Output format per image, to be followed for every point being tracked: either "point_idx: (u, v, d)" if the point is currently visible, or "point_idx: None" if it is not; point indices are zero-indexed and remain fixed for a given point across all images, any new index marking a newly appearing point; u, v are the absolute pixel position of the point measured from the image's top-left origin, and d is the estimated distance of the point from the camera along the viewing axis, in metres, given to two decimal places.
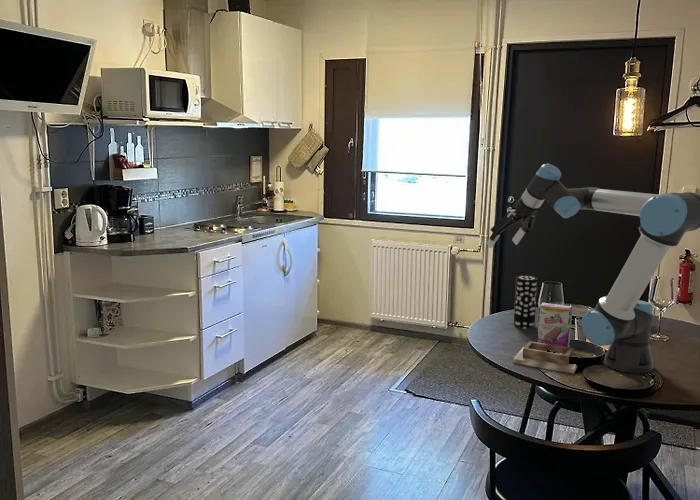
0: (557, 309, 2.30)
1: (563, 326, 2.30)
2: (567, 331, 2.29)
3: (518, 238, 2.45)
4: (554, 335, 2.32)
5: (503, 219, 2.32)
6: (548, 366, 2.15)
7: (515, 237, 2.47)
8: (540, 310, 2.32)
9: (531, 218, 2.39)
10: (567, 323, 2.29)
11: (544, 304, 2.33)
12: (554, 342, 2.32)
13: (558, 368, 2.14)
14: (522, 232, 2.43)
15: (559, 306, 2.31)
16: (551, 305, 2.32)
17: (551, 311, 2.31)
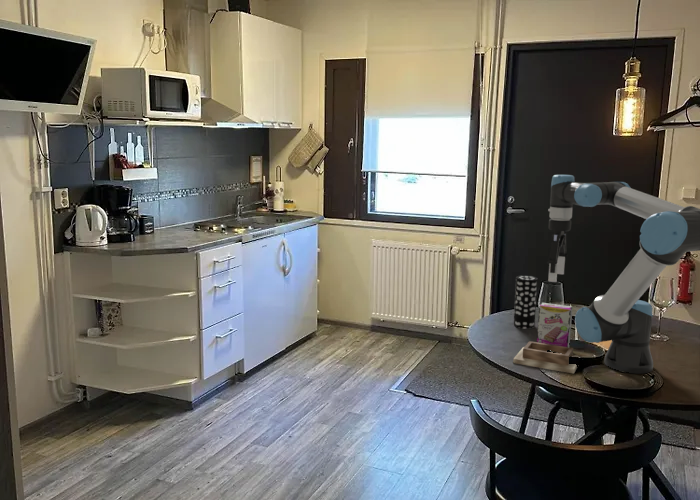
0: (557, 309, 2.30)
1: (563, 326, 2.30)
2: (567, 331, 2.29)
3: (562, 266, 2.35)
4: (554, 335, 2.32)
5: (553, 245, 2.21)
6: (548, 366, 2.15)
7: (558, 268, 2.36)
8: (540, 310, 2.32)
9: None
10: (567, 323, 2.29)
11: (544, 304, 2.33)
12: (554, 342, 2.32)
13: (558, 368, 2.14)
14: (562, 258, 2.35)
15: (559, 306, 2.31)
16: (551, 305, 2.32)
17: (551, 311, 2.31)
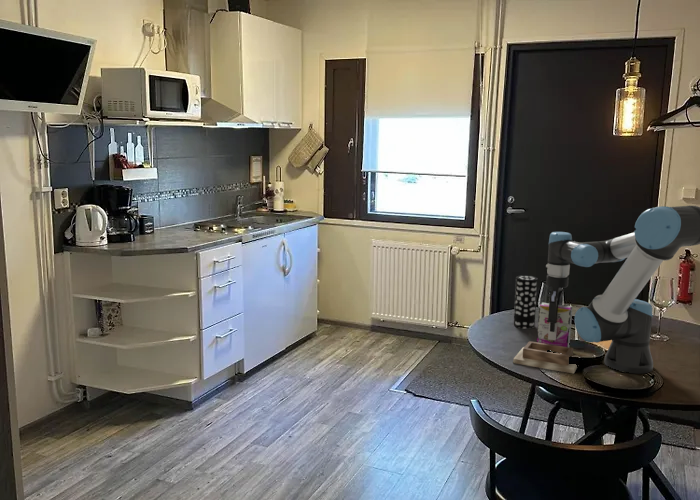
0: None
1: (563, 326, 2.30)
2: (567, 331, 2.29)
3: None
4: None
5: (551, 306, 2.27)
6: (548, 366, 2.15)
7: None
8: (540, 310, 2.32)
9: None
10: (567, 322, 2.29)
11: (544, 304, 2.33)
12: (554, 342, 2.32)
13: (558, 368, 2.14)
14: None
15: (559, 306, 2.31)
16: None
17: None
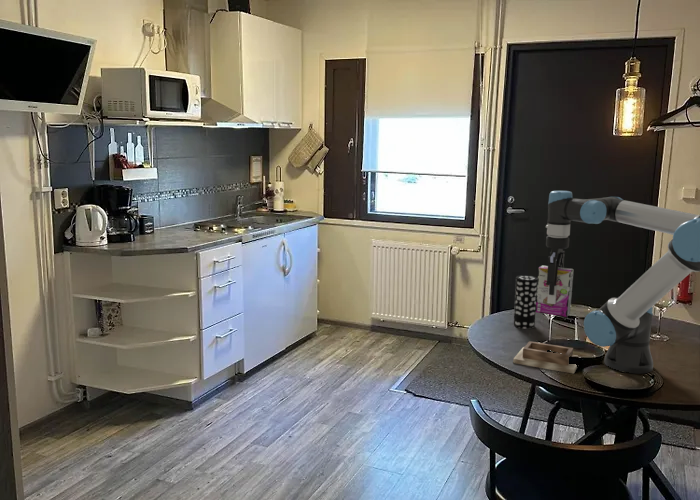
0: None
1: (563, 289, 2.20)
2: (567, 294, 2.20)
3: None
4: None
5: (550, 267, 2.18)
6: (548, 366, 2.15)
7: None
8: (539, 272, 2.23)
9: None
10: (567, 285, 2.19)
11: (544, 266, 2.24)
12: (554, 306, 2.23)
13: (558, 368, 2.14)
14: None
15: (559, 268, 2.22)
16: None
17: None
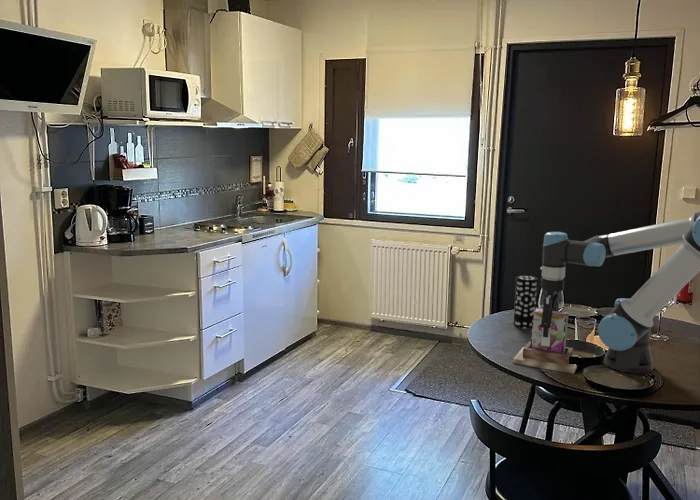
0: (552, 316, 2.16)
1: (558, 333, 2.16)
2: (562, 339, 2.16)
3: None
4: None
5: (545, 309, 2.12)
6: (548, 366, 2.15)
7: None
8: (534, 316, 2.19)
9: None
10: (563, 330, 2.15)
11: (538, 310, 2.20)
12: (549, 351, 2.19)
13: (558, 368, 2.14)
14: None
15: (554, 312, 2.18)
16: None
17: None
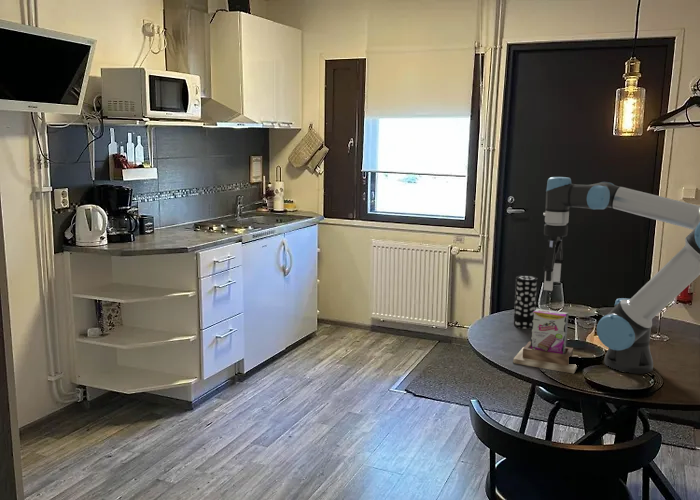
0: (552, 316, 2.16)
1: (558, 333, 2.16)
2: (562, 339, 2.16)
3: (558, 274, 2.22)
4: (549, 343, 2.18)
5: (548, 252, 2.09)
6: (548, 366, 2.15)
7: (554, 275, 2.23)
8: (534, 316, 2.19)
9: None
10: (563, 330, 2.15)
11: (538, 310, 2.20)
12: (549, 351, 2.19)
13: (558, 368, 2.14)
14: (558, 265, 2.22)
15: (554, 312, 2.18)
16: (545, 311, 2.19)
17: (546, 318, 2.17)
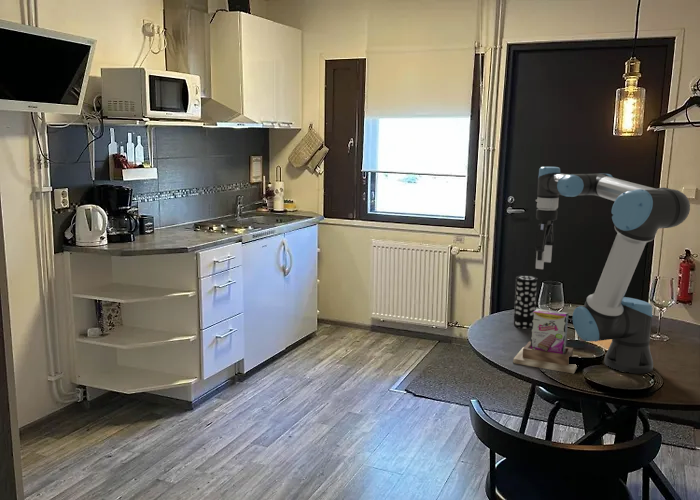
0: (552, 316, 2.16)
1: (558, 333, 2.16)
2: (562, 339, 2.16)
3: (549, 255, 2.45)
4: (549, 343, 2.18)
5: (539, 234, 2.32)
6: (548, 366, 2.15)
7: (545, 256, 2.46)
8: (534, 316, 2.19)
9: None
10: (563, 330, 2.15)
11: (538, 310, 2.20)
12: (549, 351, 2.19)
13: (558, 368, 2.14)
14: (549, 247, 2.45)
15: (554, 312, 2.18)
16: (545, 311, 2.19)
17: (546, 318, 2.17)
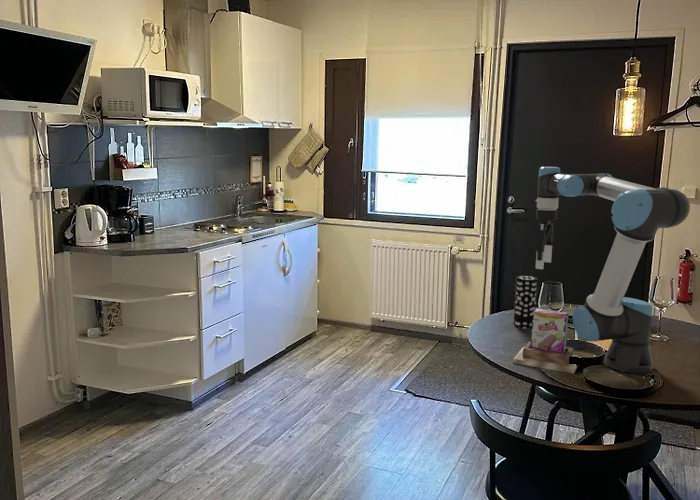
0: (552, 316, 2.16)
1: (558, 333, 2.16)
2: (562, 339, 2.16)
3: (549, 255, 2.45)
4: (549, 343, 2.18)
5: (539, 234, 2.32)
6: (548, 366, 2.15)
7: (545, 256, 2.46)
8: (534, 316, 2.19)
9: None
10: (563, 330, 2.15)
11: (538, 310, 2.20)
12: (549, 351, 2.19)
13: (558, 368, 2.14)
14: (549, 247, 2.45)
15: (554, 312, 2.18)
16: (545, 311, 2.19)
17: (546, 318, 2.17)
